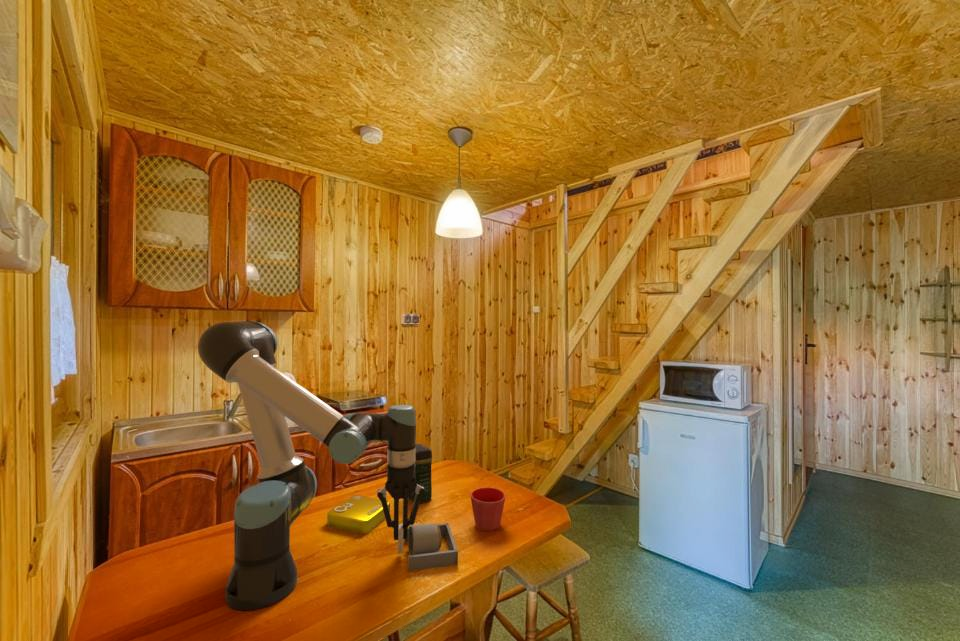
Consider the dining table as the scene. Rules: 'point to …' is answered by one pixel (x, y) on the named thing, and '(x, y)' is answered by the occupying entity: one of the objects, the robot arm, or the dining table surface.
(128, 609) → the dining table surface
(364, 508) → the element tile
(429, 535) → the ceramic mug
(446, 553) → the box
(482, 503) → the flower pot
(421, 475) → the coffee jar
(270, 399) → the robot arm
